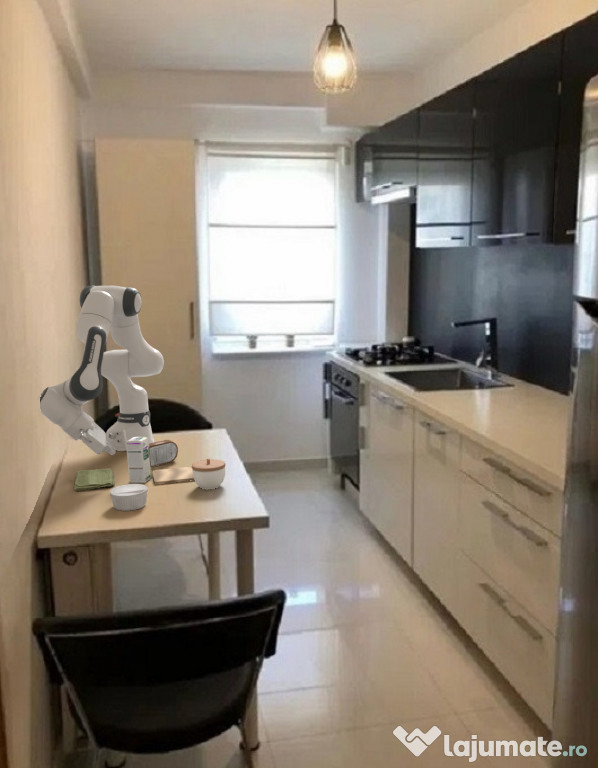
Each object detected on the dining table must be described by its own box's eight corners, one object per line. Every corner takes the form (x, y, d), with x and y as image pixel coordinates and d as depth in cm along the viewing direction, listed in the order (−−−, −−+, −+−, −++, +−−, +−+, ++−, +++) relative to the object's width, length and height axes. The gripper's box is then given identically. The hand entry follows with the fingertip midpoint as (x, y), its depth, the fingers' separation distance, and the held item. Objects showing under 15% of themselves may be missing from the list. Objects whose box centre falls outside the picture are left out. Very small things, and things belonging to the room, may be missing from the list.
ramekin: (125, 515, 208) (124, 497, 207) (103, 507, 215) (101, 490, 214) (156, 504, 216) (155, 487, 215) (134, 497, 223) (132, 481, 223)
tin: (175, 459, 266) (173, 437, 265) (180, 460, 264) (178, 438, 262) (140, 468, 256) (138, 445, 254) (144, 470, 254) (143, 446, 252)
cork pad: (155, 484, 235) (154, 482, 235) (152, 473, 249) (152, 470, 249) (197, 480, 239) (197, 477, 239) (192, 469, 252) (192, 466, 252)
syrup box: (145, 483, 238) (142, 440, 235) (128, 482, 239) (125, 440, 236) (152, 478, 243) (149, 436, 241) (136, 477, 244) (132, 436, 242)
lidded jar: (217, 493, 225) (215, 464, 223) (187, 490, 228) (185, 462, 227) (232, 483, 234) (230, 455, 233) (202, 480, 238) (201, 453, 237)
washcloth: (73, 493, 231) (72, 484, 230) (75, 478, 248) (75, 469, 247) (115, 489, 234) (114, 479, 234) (114, 474, 251) (114, 465, 250)
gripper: (86, 426, 223) (121, 453, 227) (88, 413, 243) (120, 439, 247) (72, 441, 223) (107, 468, 227) (75, 427, 243) (107, 452, 247)
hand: (114, 453), depth 237 cm, fingers closed
